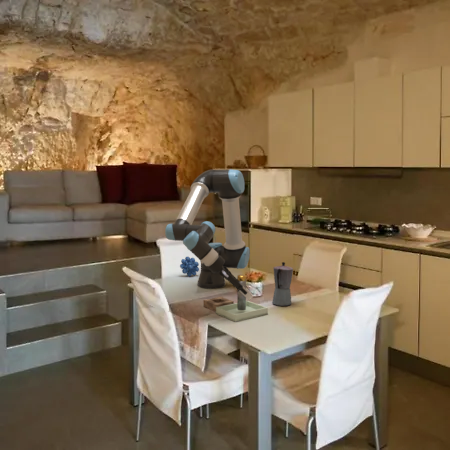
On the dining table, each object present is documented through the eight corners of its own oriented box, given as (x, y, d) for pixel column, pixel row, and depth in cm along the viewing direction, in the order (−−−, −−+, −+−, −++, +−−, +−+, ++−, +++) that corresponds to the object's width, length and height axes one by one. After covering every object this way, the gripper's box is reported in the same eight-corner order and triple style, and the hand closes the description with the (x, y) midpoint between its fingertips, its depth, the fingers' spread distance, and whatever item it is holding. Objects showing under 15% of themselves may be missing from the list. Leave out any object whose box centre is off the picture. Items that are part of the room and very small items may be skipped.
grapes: (181, 278, 287) (181, 258, 286) (179, 276, 294) (178, 256, 292) (201, 277, 291) (201, 257, 290) (198, 274, 298) (197, 255, 296)
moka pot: (295, 301, 240) (296, 260, 238) (288, 309, 226) (289, 266, 224) (276, 299, 244) (276, 259, 241) (268, 307, 229) (268, 265, 227)
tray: (247, 307, 230) (247, 300, 230) (267, 314, 219) (267, 307, 219) (216, 313, 220) (216, 307, 219) (235, 321, 208) (235, 315, 208)
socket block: (220, 302, 237) (220, 296, 237) (233, 307, 229) (233, 301, 229) (203, 306, 231) (203, 300, 231) (215, 311, 223) (215, 305, 223)
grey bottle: (242, 307, 222) (242, 274, 220) (247, 309, 219) (247, 276, 217) (235, 308, 219) (235, 275, 218) (240, 310, 216) (241, 277, 214)
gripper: (205, 263, 223) (241, 298, 227) (208, 270, 207) (247, 308, 210) (217, 251, 223) (253, 286, 227) (221, 258, 207) (259, 295, 210)
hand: (250, 296), depth 219 cm, fingers closed on grey bottle, 4 cm apart
